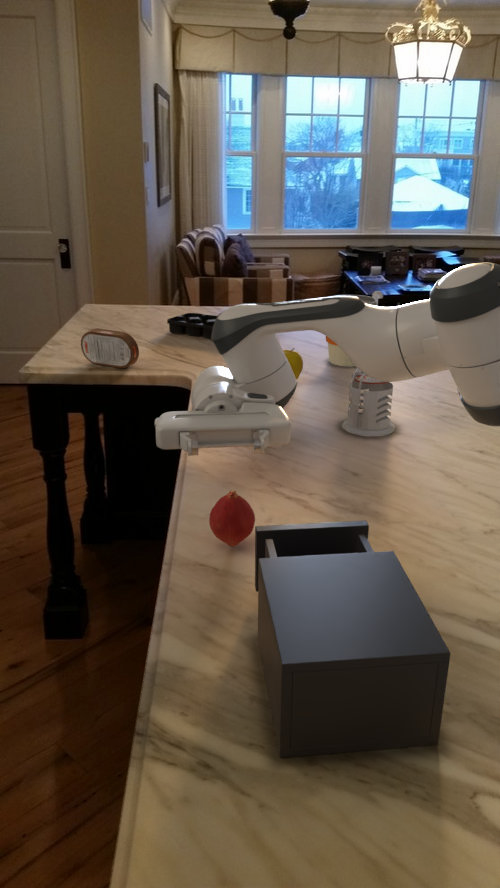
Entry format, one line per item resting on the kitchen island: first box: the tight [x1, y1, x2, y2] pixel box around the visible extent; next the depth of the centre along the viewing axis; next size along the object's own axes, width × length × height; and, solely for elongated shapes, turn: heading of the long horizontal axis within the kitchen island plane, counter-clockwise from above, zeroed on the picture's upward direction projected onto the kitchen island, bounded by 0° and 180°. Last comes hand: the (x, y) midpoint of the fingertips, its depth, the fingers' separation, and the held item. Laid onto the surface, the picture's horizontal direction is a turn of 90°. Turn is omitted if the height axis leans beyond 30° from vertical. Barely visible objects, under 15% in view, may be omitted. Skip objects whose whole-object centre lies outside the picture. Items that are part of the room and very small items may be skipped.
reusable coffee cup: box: [325, 294, 377, 368], centre depth 168 cm, size 13×12×15 cm
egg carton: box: [166, 312, 218, 339], centre depth 195 cm, size 18×30×4 cm, turn 72°
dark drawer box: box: [257, 550, 451, 759], centre depth 65 cm, size 16×14×10 cm
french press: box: [341, 290, 396, 437], centre depth 125 cm, size 10×12×25 cm
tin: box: [80, 327, 140, 369], centre depth 165 cm, size 15×3×8 cm, turn 65°
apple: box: [283, 348, 304, 381], centre depth 154 cm, size 6×6×8 cm
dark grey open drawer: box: [254, 520, 375, 593], centre depth 74 cm, size 16×13×8 cm
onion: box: [208, 489, 256, 547], centre depth 90 cm, size 6×6×8 cm
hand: (226, 449), depth 100 cm, fingers open, 8 cm apart
